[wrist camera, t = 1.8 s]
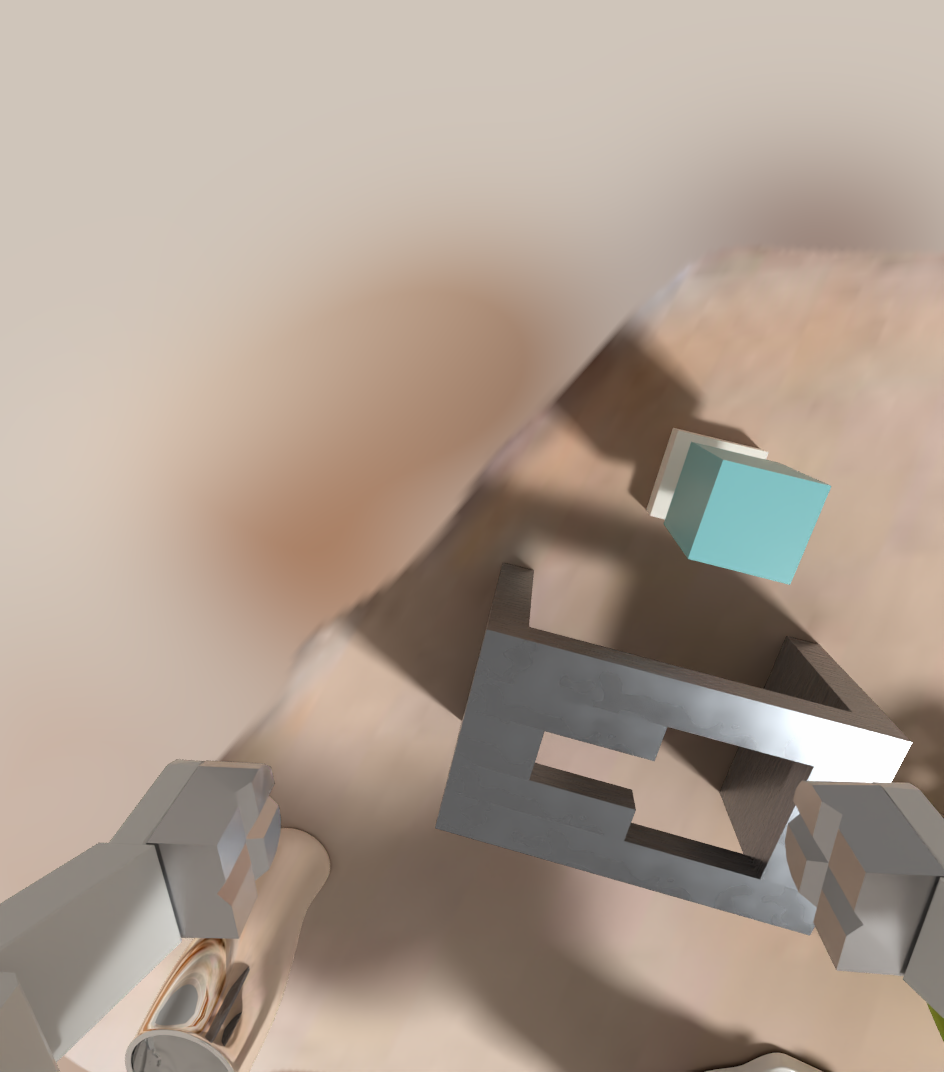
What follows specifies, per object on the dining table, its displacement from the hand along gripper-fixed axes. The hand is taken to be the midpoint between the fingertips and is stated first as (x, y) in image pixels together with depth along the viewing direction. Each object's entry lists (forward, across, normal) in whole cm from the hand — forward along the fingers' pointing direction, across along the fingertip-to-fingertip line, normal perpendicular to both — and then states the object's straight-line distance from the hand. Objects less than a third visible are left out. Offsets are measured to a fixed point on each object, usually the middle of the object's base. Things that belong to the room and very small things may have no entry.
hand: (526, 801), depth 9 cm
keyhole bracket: (+26, +7, -16) cm, 32 cm away
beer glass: (+26, -17, -33) cm, 46 cm away
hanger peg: (+27, +11, -3) cm, 30 cm away
